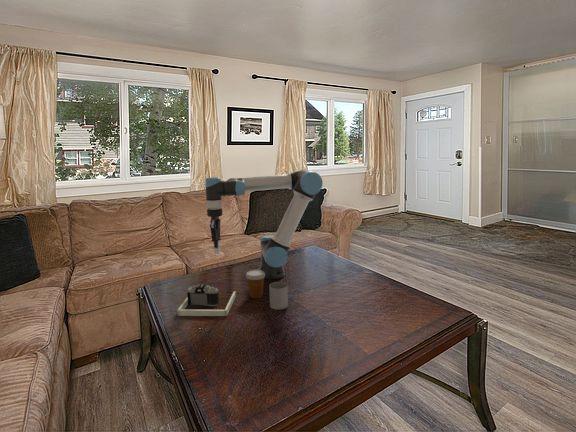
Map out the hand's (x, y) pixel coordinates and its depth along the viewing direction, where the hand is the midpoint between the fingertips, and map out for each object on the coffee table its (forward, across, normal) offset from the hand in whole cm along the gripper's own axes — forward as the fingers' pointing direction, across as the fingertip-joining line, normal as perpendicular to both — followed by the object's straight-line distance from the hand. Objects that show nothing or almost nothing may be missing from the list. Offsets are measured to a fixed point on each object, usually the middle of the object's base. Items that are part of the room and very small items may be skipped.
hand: (217, 253), depth 180 cm
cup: (+20, +20, +33) cm, 43 cm away
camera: (+19, +17, -3) cm, 26 cm away
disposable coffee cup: (+19, +9, +21) cm, 30 cm away
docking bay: (+19, +20, 0) cm, 28 cm away
